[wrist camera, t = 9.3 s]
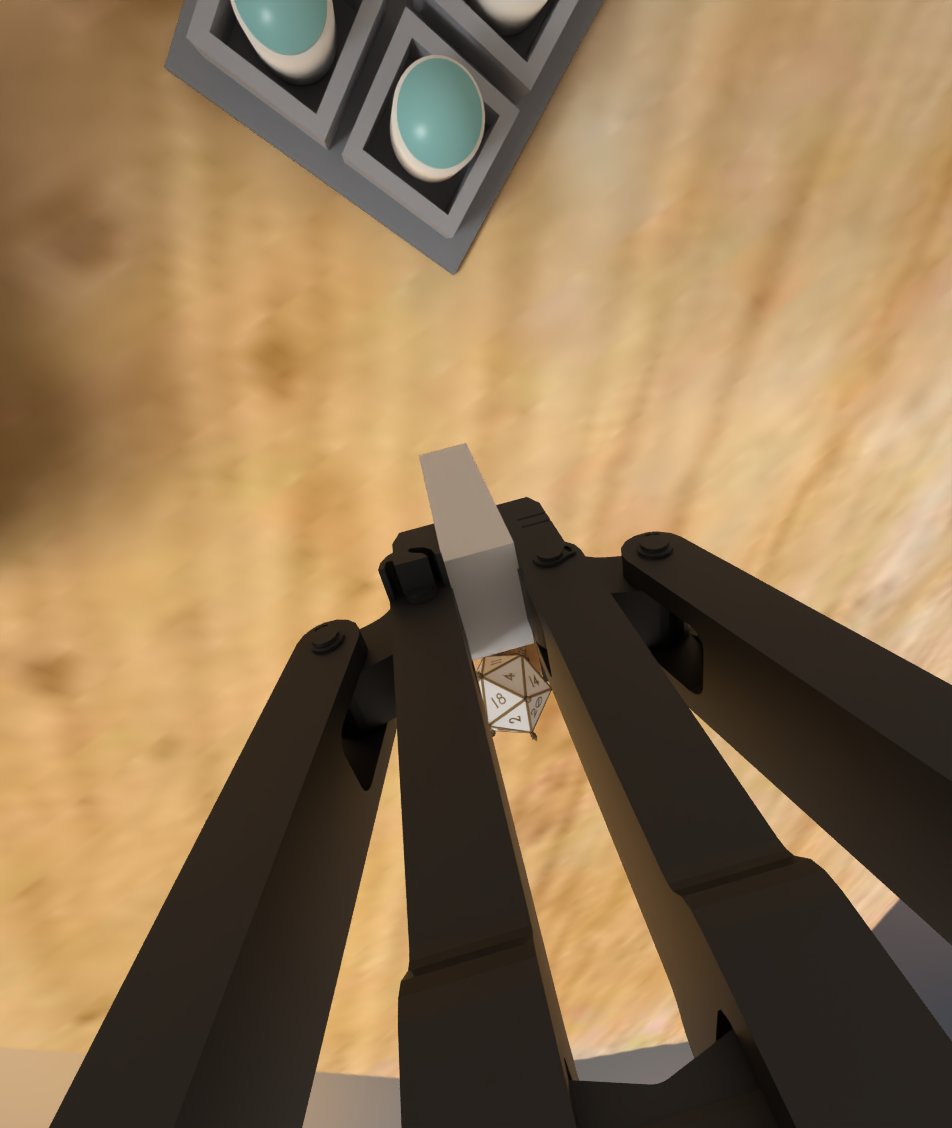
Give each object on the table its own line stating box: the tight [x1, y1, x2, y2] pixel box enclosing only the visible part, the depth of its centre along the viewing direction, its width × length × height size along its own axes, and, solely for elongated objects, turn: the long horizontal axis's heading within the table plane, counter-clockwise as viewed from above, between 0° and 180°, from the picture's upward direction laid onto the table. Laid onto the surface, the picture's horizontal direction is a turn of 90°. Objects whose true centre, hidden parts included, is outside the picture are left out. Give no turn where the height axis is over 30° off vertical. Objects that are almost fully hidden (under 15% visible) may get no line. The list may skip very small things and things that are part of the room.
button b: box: [390, 55, 485, 183], centre depth 27 cm, size 4×4×5 cm
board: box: [164, 0, 603, 275], centre depth 28 cm, size 18×18×4 cm
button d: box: [231, 0, 337, 85], centre depth 26 cm, size 4×4×5 cm
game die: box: [476, 646, 552, 741], centre depth 50 cm, size 9×8×10 cm
